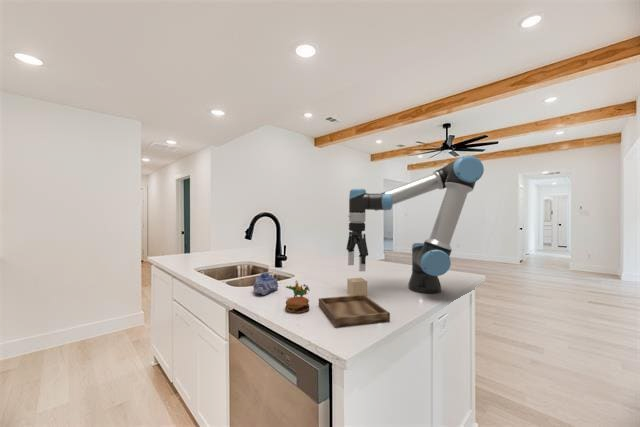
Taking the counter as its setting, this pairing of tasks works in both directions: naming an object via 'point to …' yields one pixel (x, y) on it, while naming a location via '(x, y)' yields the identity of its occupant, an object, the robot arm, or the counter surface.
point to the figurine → (299, 289)
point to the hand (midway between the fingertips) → (356, 268)
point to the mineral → (265, 284)
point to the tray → (353, 311)
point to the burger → (297, 304)
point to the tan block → (356, 286)
